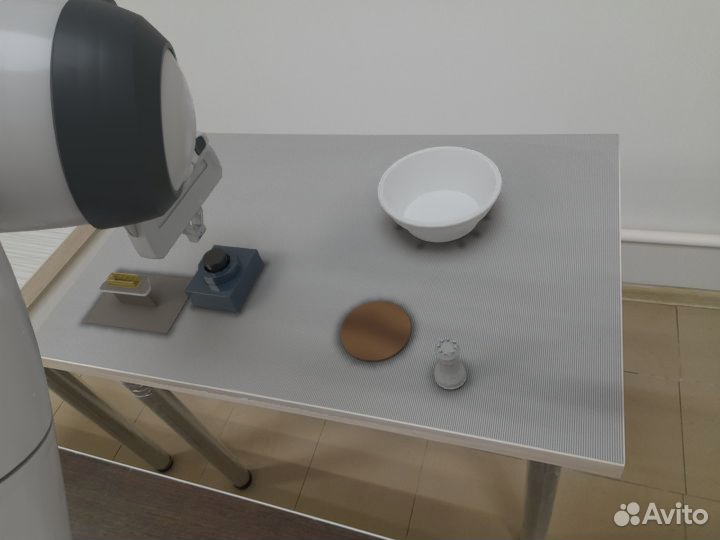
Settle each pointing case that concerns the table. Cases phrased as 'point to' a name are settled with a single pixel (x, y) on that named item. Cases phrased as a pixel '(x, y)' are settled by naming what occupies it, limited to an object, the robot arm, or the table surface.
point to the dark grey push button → (215, 260)
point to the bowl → (440, 191)
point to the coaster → (375, 331)
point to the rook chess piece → (449, 365)
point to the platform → (139, 302)
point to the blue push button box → (226, 280)
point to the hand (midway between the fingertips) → (198, 236)
